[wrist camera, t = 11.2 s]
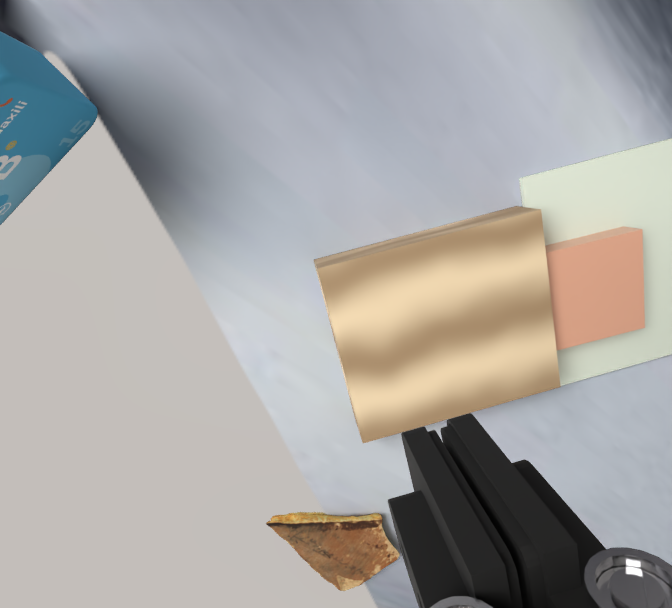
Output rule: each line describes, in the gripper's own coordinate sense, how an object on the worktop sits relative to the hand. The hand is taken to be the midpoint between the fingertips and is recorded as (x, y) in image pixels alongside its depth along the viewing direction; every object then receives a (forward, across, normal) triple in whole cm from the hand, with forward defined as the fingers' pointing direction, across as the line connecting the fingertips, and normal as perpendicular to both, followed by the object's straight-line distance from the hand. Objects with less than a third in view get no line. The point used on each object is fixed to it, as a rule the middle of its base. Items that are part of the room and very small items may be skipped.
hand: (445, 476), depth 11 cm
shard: (+26, +6, +25) cm, 36 cm away
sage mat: (+25, -22, +6) cm, 34 cm away
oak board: (+25, -7, +6) cm, 27 cm away
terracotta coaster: (+25, -19, +7) cm, 32 cm away
